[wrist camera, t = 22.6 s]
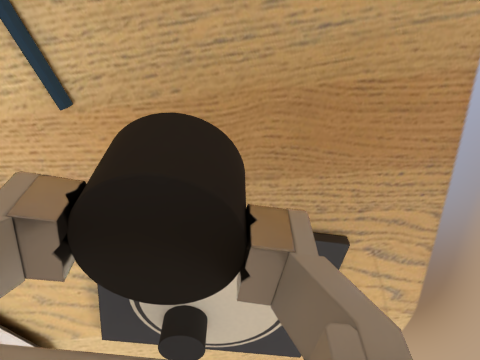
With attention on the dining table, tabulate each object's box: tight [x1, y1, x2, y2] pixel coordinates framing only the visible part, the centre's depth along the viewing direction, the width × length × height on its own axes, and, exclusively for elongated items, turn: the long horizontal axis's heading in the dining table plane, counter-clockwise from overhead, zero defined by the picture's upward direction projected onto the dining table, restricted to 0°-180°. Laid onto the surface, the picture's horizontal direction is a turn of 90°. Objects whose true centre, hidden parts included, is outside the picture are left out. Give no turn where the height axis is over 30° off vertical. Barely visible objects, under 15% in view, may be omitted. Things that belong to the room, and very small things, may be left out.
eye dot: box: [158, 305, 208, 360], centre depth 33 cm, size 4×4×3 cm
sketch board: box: [98, 233, 350, 358], centre depth 33 cm, size 20×16×1 cm
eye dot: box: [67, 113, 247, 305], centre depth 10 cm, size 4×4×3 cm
